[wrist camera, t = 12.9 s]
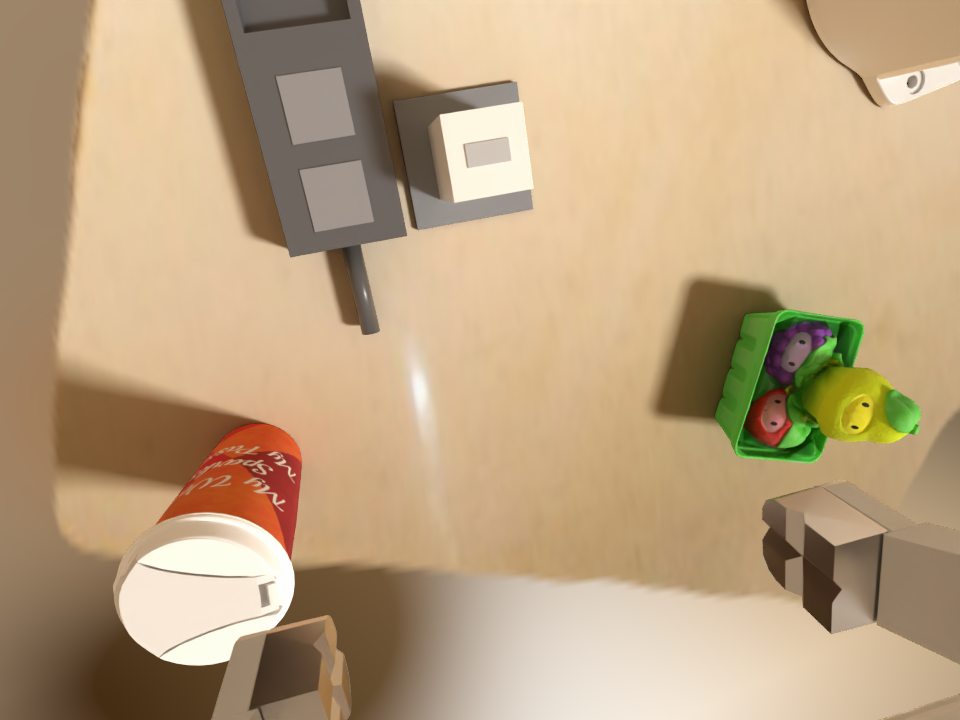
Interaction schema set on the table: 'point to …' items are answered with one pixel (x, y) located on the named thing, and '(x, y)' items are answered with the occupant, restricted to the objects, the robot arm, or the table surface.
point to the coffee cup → (217, 552)
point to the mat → (419, 158)
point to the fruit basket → (806, 389)
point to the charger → (481, 152)
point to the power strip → (320, 128)
